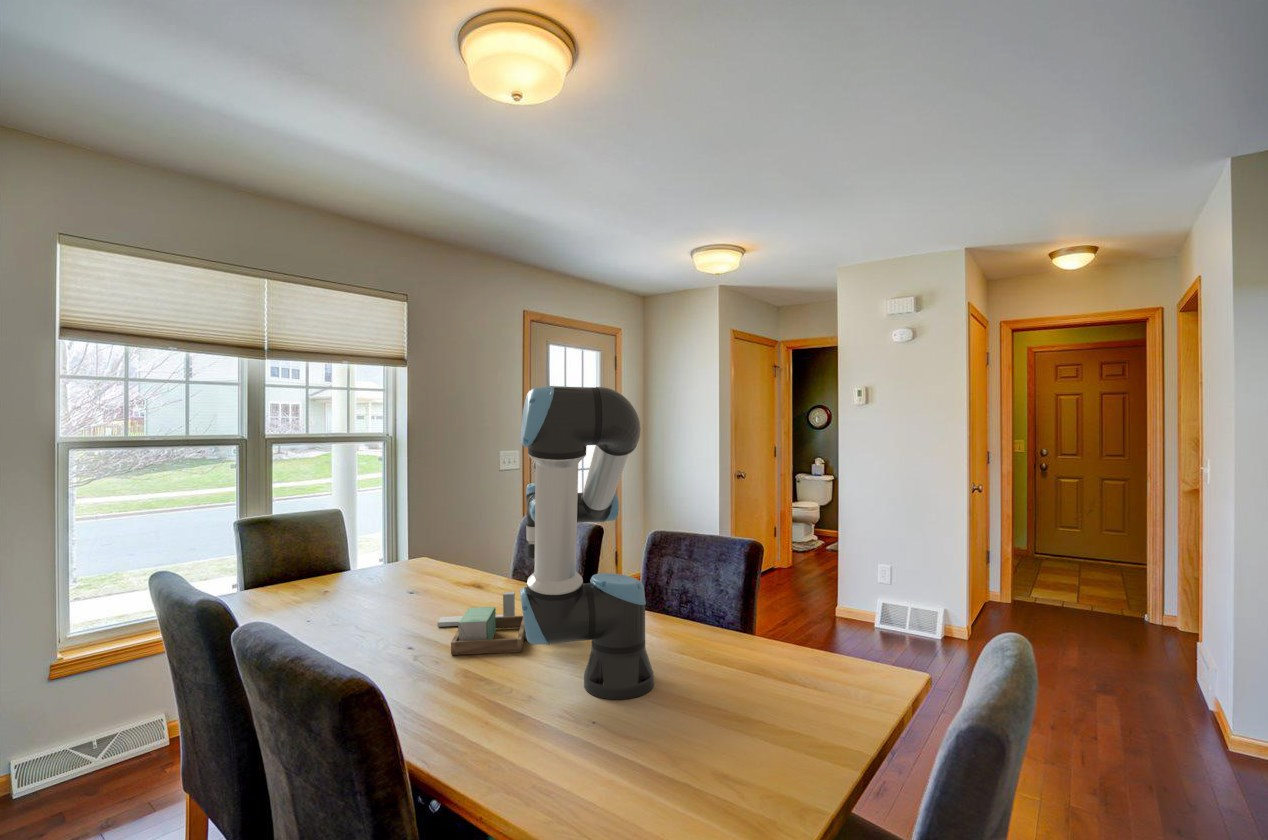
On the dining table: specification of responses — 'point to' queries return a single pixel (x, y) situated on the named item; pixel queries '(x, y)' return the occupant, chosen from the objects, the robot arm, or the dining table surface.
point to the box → (477, 624)
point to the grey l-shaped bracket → (507, 611)
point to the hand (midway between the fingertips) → (541, 622)
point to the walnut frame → (493, 644)
